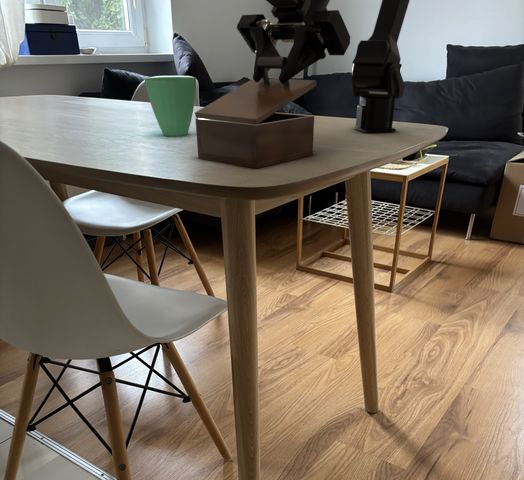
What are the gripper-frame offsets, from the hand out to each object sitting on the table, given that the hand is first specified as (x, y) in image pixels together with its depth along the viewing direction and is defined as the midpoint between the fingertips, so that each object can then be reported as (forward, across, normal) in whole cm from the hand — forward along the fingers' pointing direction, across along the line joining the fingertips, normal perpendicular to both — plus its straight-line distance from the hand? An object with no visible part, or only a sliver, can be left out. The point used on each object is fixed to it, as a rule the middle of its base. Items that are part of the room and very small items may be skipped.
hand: (267, 80), depth 78 cm
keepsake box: (+10, 0, +5) cm, 11 cm away
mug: (+4, -30, +12) cm, 33 cm away
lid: (+4, 0, 0) cm, 4 cm away
